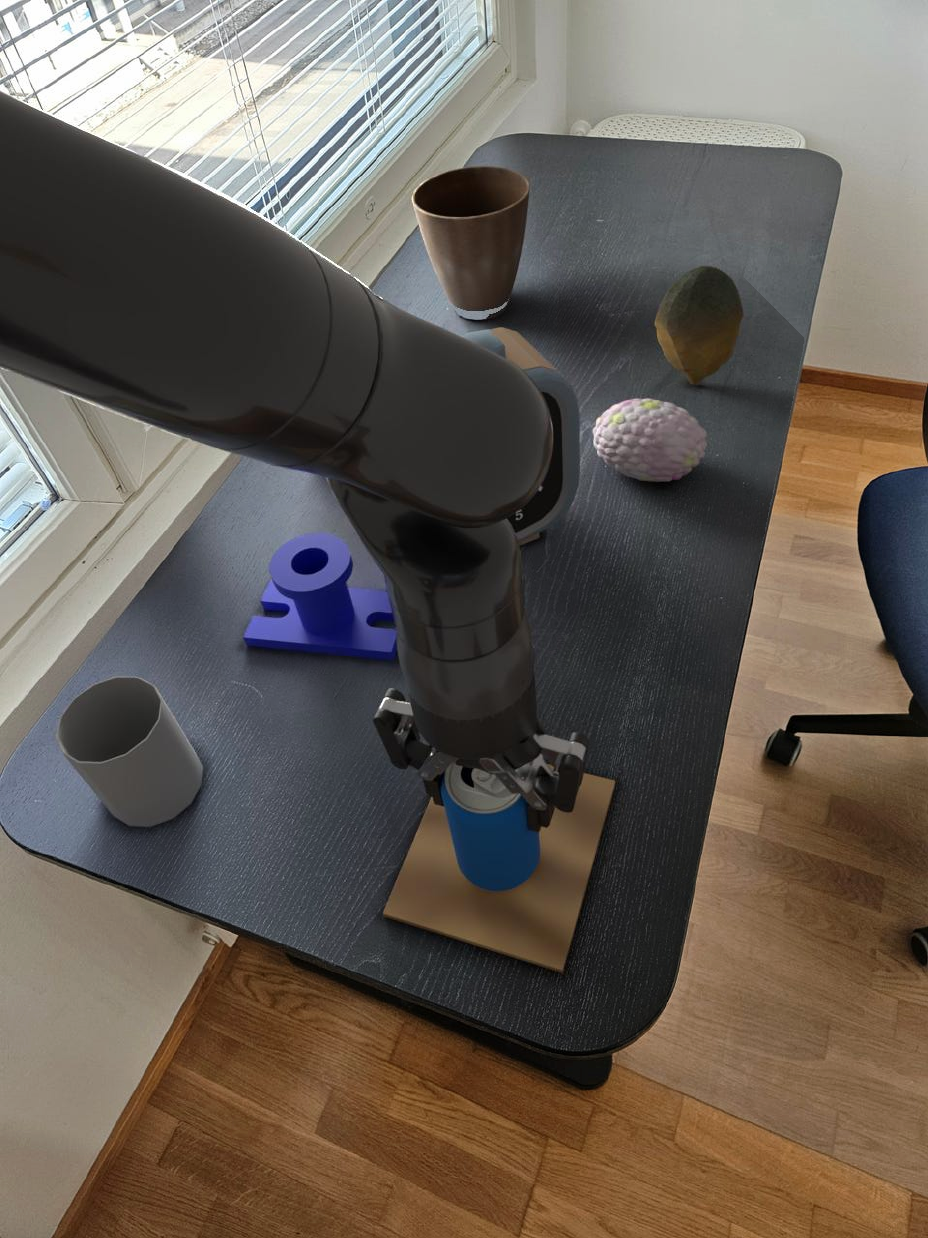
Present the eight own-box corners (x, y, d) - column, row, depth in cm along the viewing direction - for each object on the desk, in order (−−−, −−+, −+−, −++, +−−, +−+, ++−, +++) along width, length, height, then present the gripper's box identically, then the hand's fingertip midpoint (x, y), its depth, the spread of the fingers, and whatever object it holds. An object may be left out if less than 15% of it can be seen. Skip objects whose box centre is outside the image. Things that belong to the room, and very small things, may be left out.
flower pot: (445, 276, 130) (431, 163, 118) (545, 281, 127) (541, 165, 115) (414, 332, 121) (396, 216, 109) (521, 339, 118) (513, 219, 106)
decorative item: (705, 472, 89) (660, 382, 88) (613, 513, 96) (569, 431, 94) (726, 448, 96) (685, 364, 95) (639, 488, 103) (599, 411, 101)
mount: (246, 645, 87) (219, 584, 80) (272, 589, 92) (248, 527, 85) (393, 660, 84) (377, 598, 77) (412, 601, 88) (398, 538, 82)
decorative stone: (735, 373, 108) (752, 254, 96) (730, 403, 104) (747, 283, 93) (655, 367, 110) (662, 251, 99) (647, 396, 107) (654, 278, 95)
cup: (170, 727, 81) (128, 659, 74) (221, 778, 77) (182, 712, 70) (90, 788, 78) (37, 724, 70) (139, 846, 74) (88, 783, 66)
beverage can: (488, 804, 72) (474, 720, 63) (556, 844, 69) (552, 762, 60) (441, 867, 69) (419, 788, 60) (510, 912, 66) (498, 835, 57)
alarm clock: (402, 601, 89) (361, 424, 72) (368, 544, 95) (323, 368, 78) (582, 527, 93) (582, 344, 77) (539, 477, 99) (530, 297, 83)
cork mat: (562, 973, 63) (562, 970, 63) (383, 916, 67) (382, 913, 67) (615, 784, 73) (615, 780, 72) (455, 744, 77) (455, 740, 76)
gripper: (327, 687, 51) (378, 827, 63) (573, 745, 46) (575, 883, 59) (379, 593, 55) (417, 741, 68) (607, 638, 51) (603, 788, 63)
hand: (491, 807), depth 63 cm, fingers closed on beverage can, 6 cm apart
